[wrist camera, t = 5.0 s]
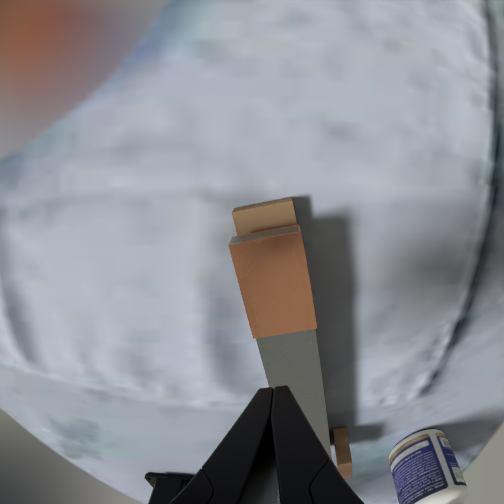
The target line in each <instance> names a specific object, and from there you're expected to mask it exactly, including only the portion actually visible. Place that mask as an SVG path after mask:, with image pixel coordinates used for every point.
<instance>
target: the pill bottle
mask: <svg viewBox="0 0 504 504" xmlns="http://www.w3.org/2000/svg"><path fill="white" fill-rule="evenodd" d="M389 464H390V468H391V471H392V475H393V479H394V483H395V487H396V491H397V496H398V500H399V504H463V502H464V501H465V500H466V497H467V495H468V489H467V486H466V483H465V481H464V478H463V475H462V473H461V470H460V468H459V466H458V463H457V461H456V458H455V456H454V453H453V451H452V449H451V446H450V444H449V442H448V439H447V437H446V435H445V434H444V433H443V432H442V431H440V430H437V429H428V430H423V431H420V432H417V433H414V434H412V435H410V436H408V437H407V438H405V439H403V440H402V441H401V442H399V443H398V444H397V445H396V446H395V447H394V448H393V450H392V451H391V453H390V455H389Z"/></svg>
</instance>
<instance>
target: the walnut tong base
mask: <svg viewBox="0 0 504 504" xmlns="http://www.w3.org/2000/svg"><path fill="white" fill-rule="evenodd" d="M232 215H233V220H234V224H235V228H236V232H237V236H240V235H245V234H250V233H256V232H261V231H266V230H271V229H276V228H282V227H287V226H292V225H297V221H296V216H295V211H294V206H293V201H292V197H289V198H284V199H279V200H274V201H269V202H264V203H259V204H254V205H249V206H244V207H239V208H234V210H233V211H232ZM333 432H334V443H335V452H336V459H337V467H338V471H339V472H340V474H341V475H342V477H343V478H344V479H346V478H351V477H352V459H351V453H350V447H349V441H348V436H347V430H346V427H342V428H336V429H333ZM278 487H279V486H278Z"/></svg>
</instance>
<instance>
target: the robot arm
mask: <svg viewBox="0 0 504 504" xmlns="http://www.w3.org/2000/svg"><path fill="white" fill-rule="evenodd" d="M145 479H146V480H147V481H148V482H149V483H150V485H151V486H152V487H153V491H152V494H151V497H150V500H149V503H148V504H276V499H277V491H278V486H279V495H280V503H281V504H364V502H363V501H362V500H361V499H360V498H359V497H358V496H357V495H356V494H355V492H354V491H353V490H352V489H351V488H350V486H349V485H348V484H347V483H346V481H345V480H344V478H343V477H342V475H341V474H340V472H339V471H338V469H337V468H336V466H335V465H334V463H333V461H332V460H331V458H330V457H329V455H328V453H327V452H326V450H325V448H324V447H323V445H322V443H321V442H320V440H319V438H318V436H317V435H316V433H315V431H314V430H313V428H312V426H311V425H310V423H309V421H308V419H307V418H306V416H305V414H304V413H303V411H302V409H301V407H300V406H299V404H298V402H297V401H296V399H295V397H294V395H293V394H292V392H291V390H290V388H289V387H288V386H287V385H284V386H276V387H274V389H273V388H272V387H268V388H261V389H259V390H258V391H257V393H256V394H255V395H254V397H253V398H252V400H251V401H250V403H249V404H248V405H247V407H246V408H245V410H244V411H243V413H242V414H241V415H240V417H239V418H238V420H237V421H236V422H235V424H234V425H233V426H232V428H231V429H230V431H229V432H228V433H227V435H226V436H225V437H224V439H223V440H222V441H221V443H220V444H219V445H218V447H217V448H216V449H215V451H214V452H213V453H212V455H211V456H210V457H209V458H208V460H207V461H206V462H205V464H204V465H203V466H202V469H200V470H199V471H198V472H197V474H196V475H195V476H194V477H186V476H171V475H159V474H149V473H146V474H145Z"/></svg>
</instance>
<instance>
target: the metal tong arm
mask: <svg viewBox="0 0 504 504" xmlns="http://www.w3.org/2000/svg"><path fill="white" fill-rule="evenodd" d="M229 249H230V253H231V256H232V260H233V264H234V268H235V272H236V275H237V279H238V283H239V287H240V290H241V294H242V298H243V302H244V305H245V309H246V313H247V316H248V320H249V324H250V327H251V331H252V335H253V338H256V340H257V344H258V348H259V351H260V355H261V359H262V362H263V366H264V370H265V373H266V377H267V380H268V384H269V387H272V388H273V389H274V387H276V386H284V385H287V386H288V387H289V388H290V390H291V392H292V394H293V395H294V397H295V399H296V401H297V402H298V404H299V406H300V407H301V409H302V411H303V413H304V414H305V416H306V418H307V419H308V421H309V423H310V425H311V426H312V428H313V430H314V431H315V433H316V435H317V436H318V438H319V440H320V442H321V443H322V445H323V447H324V448H325V450H326V452H327V453H328V455H329V457H330V458H331V448H330V439H329V429H328V421H327V412H326V404H325V395H324V387H323V380H322V372H321V365H320V358H319V351H318V344H317V337H316V330H315V329H317V323H316V316H315V310H314V303H313V297H312V290H311V284H310V278H309V272H308V266H307V261H306V255H305V249H304V243H303V238H302V232H301V228H300V224H297V225H292V226H287V227H282V228H276V229H271V230H266V231H261V232H256V233H250V234H245V235H240V236H235V237H232V239H231V241H230V244H229ZM331 460H332V458H331Z"/></svg>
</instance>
